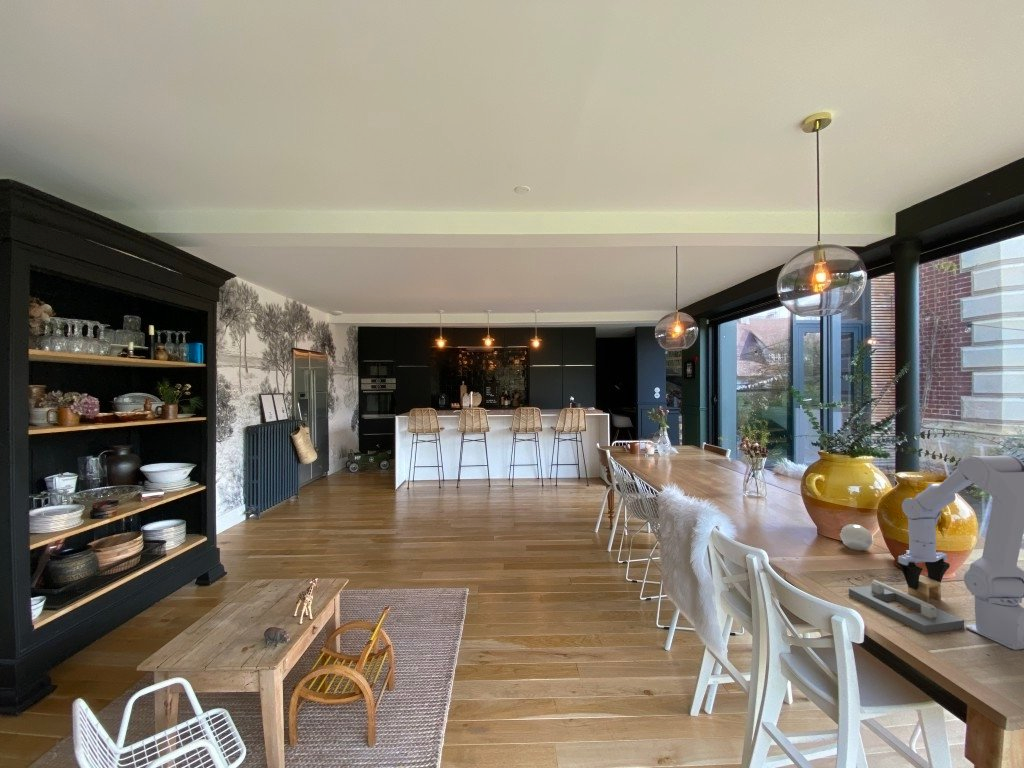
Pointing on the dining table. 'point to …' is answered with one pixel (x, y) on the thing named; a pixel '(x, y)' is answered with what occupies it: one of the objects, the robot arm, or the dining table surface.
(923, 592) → the ochre u-shaped block
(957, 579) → the dining table surface
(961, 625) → the grey slotted base plate
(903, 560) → the robot arm
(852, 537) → the white egg shape
